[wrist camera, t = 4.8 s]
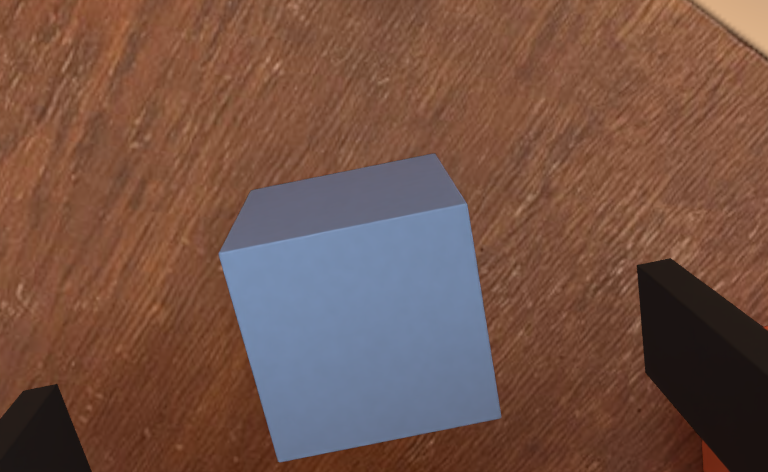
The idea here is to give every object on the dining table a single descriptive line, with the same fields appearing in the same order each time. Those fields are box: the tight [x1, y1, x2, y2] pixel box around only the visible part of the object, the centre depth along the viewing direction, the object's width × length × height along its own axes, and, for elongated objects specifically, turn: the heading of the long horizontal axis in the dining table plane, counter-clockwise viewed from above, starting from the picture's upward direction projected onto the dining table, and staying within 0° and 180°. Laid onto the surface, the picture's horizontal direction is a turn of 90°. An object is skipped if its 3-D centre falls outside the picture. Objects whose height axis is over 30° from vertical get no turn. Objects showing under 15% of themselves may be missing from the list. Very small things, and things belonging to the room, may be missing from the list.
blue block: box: [219, 154, 501, 462], centre depth 20 cm, size 6×6×6 cm
